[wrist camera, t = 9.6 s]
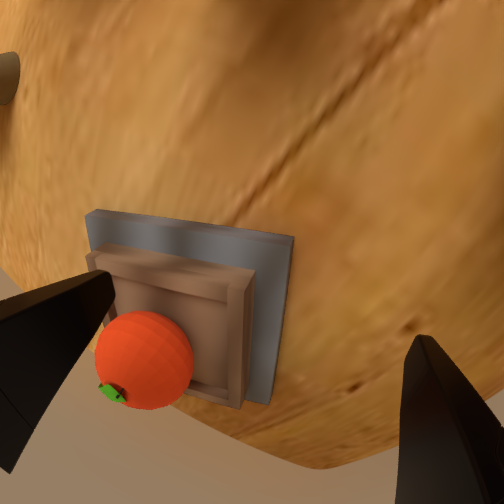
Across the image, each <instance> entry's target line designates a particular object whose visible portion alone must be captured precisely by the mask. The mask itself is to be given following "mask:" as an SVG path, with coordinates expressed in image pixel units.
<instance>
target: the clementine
mask: <svg viewBox="0 0 504 504" xmlns="http://www.w3.org/2000/svg"><path fill="white" fill-rule="evenodd" d="M95 366H96V370H97V373H98V376H99V378H100V381H101V384H100V385H99V387H98V388H99V389H100V390H101V391H102V392H103V393H104V394H105V395H106V396H107V397H108V398H109V399H111V400H112V401H115V402H121V403H122V404H124V405H126V406H128V407H132V408H136V409H146V410H153V409H157V408H161V407H164V406H168V405H169V404H171V403H172V402H174V401H176V400H177V399H178V398H179V397H180V396H181V395H182V394H183V392H184V391H185V390H186V389H187V388H188V386H189V383H190V380H191V377H192V374H193V371H194V357H193V351H192V348H191V346H190V343H189V341H188V338H187V336H186V335H185V334H184V332H183V331H182V330H181V329H180V328H179V327H178V326H177V324H176V323H174V322H173V321H171V320H170V319H169V318H167V317H165V316H163V315H161V314H159V313H155V312H152V311H132V312H129V313H126V314H122V315H119V316H118V317H116V318H115V319H114V320H112V321H111V322H110V323H109V324H108V325H107V326H106V327H105V328H104V330H103V331H102V333H101V334H100V335H99V339H98V342H97V346H96V349H95Z"/></svg>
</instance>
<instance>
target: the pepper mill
mask: <svg viewBox="0 0 504 504" xmlns="http://www.w3.org/2000/svg"><path fill="white" fill-rule="evenodd" d="M19 77H20V61H19V57H18V55H17V53H15V52H7V53H3V54H0V105H5V104H7V103H9V102H10V101H11V100H12V98H13V96H14V94H15V92H16V90H17V86H18V83H19Z"/></svg>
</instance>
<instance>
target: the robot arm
mask: <svg viewBox="0 0 504 504" xmlns="http://www.w3.org/2000/svg"><path fill="white" fill-rule="evenodd" d="M115 297H116V292H115V288H114V284H113V280H112V276H111V274H110V272H108V271H105V270H101V269H98V270H94V271H91V272H88V273H85V274H81V275H78V276H75V277H72V278H69V279H65V280H62V281H59V282H56V283H53V284H50V285H47V286H43V287H40V288H37V289H34V290H31V291H28V292H25V293H22V294H19V295H16V296H13V297H10V298H7V299H6V300H5V299H4V300H1V301H0V467H1V468H2V469H3V470H5V471H6V472H7V473H9V474H10V473H11V472H12V471H13V469H14V467H15V465H16V463H17V461H18V459H19V457H20V455H21V453H22V452H23V450H24V448H25V446H26V444H27V442H28V440H29V439H30V437H31V435H32V433H33V432H34V429H35V428H36V426H37V424H38V422H39V421H40V419H41V417H42V416H43V414H44V412H45V411H46V409H47V407H48V406H49V404H50V402H51V401H52V399H53V398H54V396H55V394H56V393H57V391H58V390H59V388H60V386H61V385H62V383H63V382H64V380H65V379H66V377H67V375H68V374H69V372H70V371H71V369H72V368H73V366H74V364H75V363H76V362H77V360H78V359H79V357H80V356H81V354H82V353H83V351H84V350H85V348H86V347H87V345H88V344H89V343H90V341H91V340H92V338H93V337H94V335H95V333H96V332H97V330H98V328H99V326H100V325H101V323H102V321H103V319H104V318H105V316H106V314H107V312H108V311H109V309H110V307H111V306H112V304H113V302H114V300H115ZM395 504H504V428H503V427H501V423H500V422H499V420H498V419H497V418H496V416H495V415H494V414H493V412H492V411H491V410H490V408H489V407H488V406H487V404H486V403H485V401H484V400H483V399H482V397H481V396H480V395H479V394H478V392H477V391H476V390H475V388H474V387H473V386H472V385H471V383H470V382H469V381H468V379H467V378H466V377H465V376H464V374H463V373H462V372H461V371H460V369H459V368H458V367H457V366H456V365H455V363H454V362H453V361H452V360H451V358H450V357H449V356H448V355H447V354H446V352H445V351H444V350H443V349H442V348H441V347H440V345H439V344H438V343H437V342H436V341H435V339H434V338H433V337H432V336H429V335H421V334H419V335H417V336H416V337H415V339H414V341H413V343H412V345H411V347H410V349H409V351H408V353H407V355H406V358H405V361H404V372H403V386H402V397H401V407H400V436H399V462H398V476H397V488H396V498H395Z"/></svg>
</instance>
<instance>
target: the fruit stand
mask: <svg viewBox="0 0 504 504" xmlns="http://www.w3.org/2000/svg"><path fill="white" fill-rule="evenodd" d="M85 221H86V227H87V232H88V238H89V243H90V248H91V252H90V253H89V254H88V255H86V256H85V257H86V261H87V266H88V270H89V272H91V271H94V270H98V269H101V270H105V271H108V272H110V274H111V276H112V280H113V284H114V288H115V292H116V297H115V300H114V302H113V304H112V306H111V307H110V309H109V311H108V312H107V314H106V316H105V318H104V319H103V321H102V322H103V325H104V328H105V327H106V326H107V325H108V324H109V323H110V322H111V321H112V320H114V319H115V318H116V317H118V316H119V315H122V314H126V313H129V312H132V311H152V312H155V313H159V314H161V315H163V316H165V317H167V318H169V319H170V320H171V321H173V322H174V323H176V324H177V326H178V327H179V328H180V329H181V330H182V331H183V332H184V334H185V335H186V336H187V338H188V341H189V343H190V346H191V348H192V351H193V357H194V371H193V374H192V377H191V380H190V383H189V386H188V388H187V389H186V390H185V391H184V392H183V393H184V394H187V395H190V396H194V397H197V398H200V399H203V400H207V401H210V402H213V403H217V404H220V405H224V406H228V407H231V408H235V409H239V410H240V409H241V406H242V403H243V401H244V400H248V401H252V402H257V403H261V404H266V405H269V403H270V400H271V396H272V393H273V387H274V381H275V374H276V368H277V362H278V355H279V349H280V342H281V335H282V328H283V321H284V314H285V307H286V299H287V292H288V284H289V276H290V268H291V260H292V251H293V243H294V237H293V236H287V235H281V234H274V233H268V232H261V231H254V230H248V229H241V228H234V227H227V226H220V225H213V224H206V223H199V222H192V221H185V220H178V219H170V218H163V217H155V216H148V215H140V214H132V213H124V212H116V211H108V210H100V209H96V210H94V211H92V212H90V213H88V214H86V215H85Z"/></svg>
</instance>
